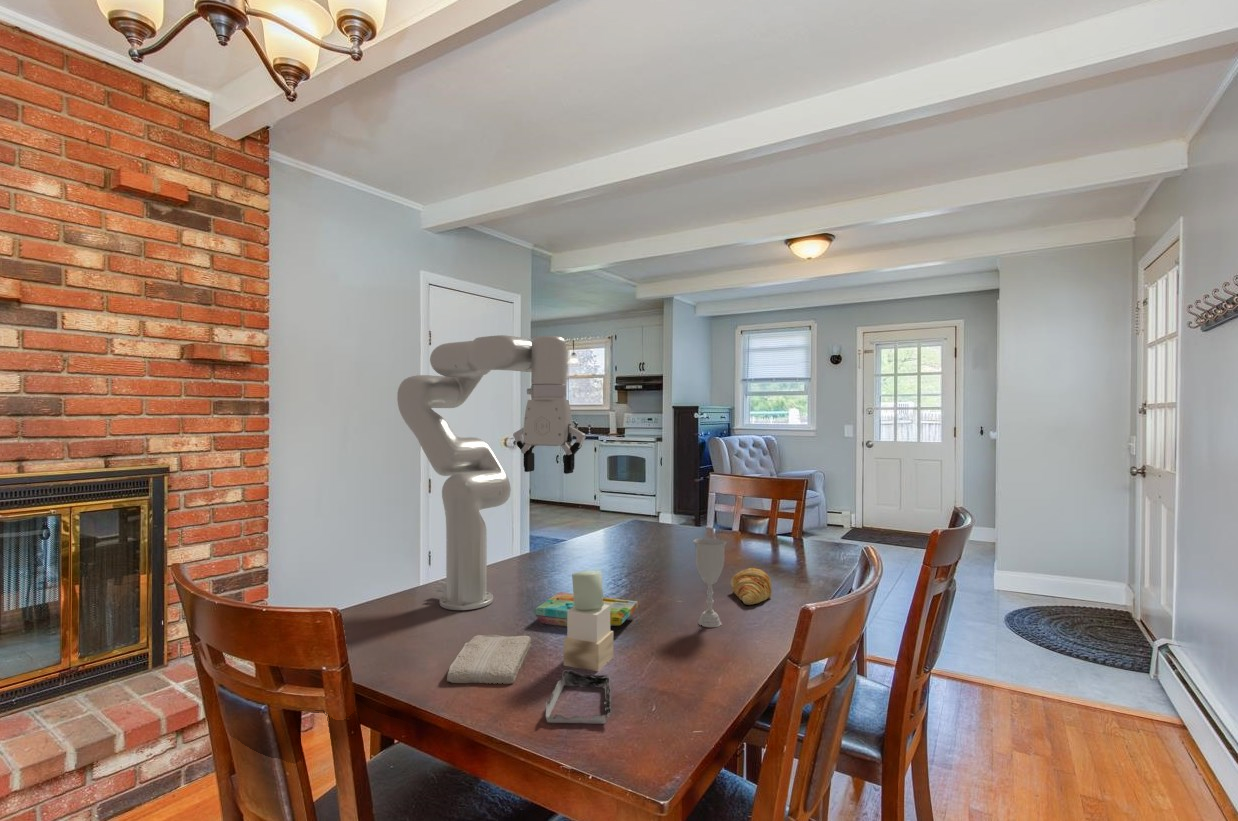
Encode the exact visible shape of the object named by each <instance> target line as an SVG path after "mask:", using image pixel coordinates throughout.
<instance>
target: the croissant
mask: <svg viewBox="0 0 1238 821" xmlns="http://www.w3.org/2000/svg"><path fill="white" fill-rule="evenodd" d="M730 588H731V589H732V590H733V593H734V594H735V595H736V596H737V597H738V599H739V600H740V601H742V603H743V605H748V606H751V605H755V604H760V603H762V602H764V601H766V600H767V599H768V598H769V599H770V598H771V597H772V590H773V589H772V588H773V587H772V580H771V578H770V576H769V574H767V573H766V572H765V571H764V570H762V569H761V568H759V567H748V568H746V569H742V570H740V571H738V572H737V573H735V574H734V575H733V577H732V578H731V579H730Z"/></svg>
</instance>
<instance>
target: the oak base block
mask: <svg viewBox="0 0 1238 821" xmlns="http://www.w3.org/2000/svg"><path fill="white" fill-rule="evenodd" d="M613 658H614V630H610V632H609V633H608V634H607V635H606V636H605V637H603V638H602V639H601V640H600V641H599V642H597V643H594V642H588V641H582V640H576V639H570V638H567V636H565V637H564V638H563V666H566V667H572V668H576V669H581V670H587V671H593V672H600V671H601V670H602V669H603V668H604V667H605V666H606V665H607V664H608V663H609V662H610V660H612V659H613ZM607 662H608V663H607Z"/></svg>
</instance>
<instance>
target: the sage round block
mask: <svg viewBox="0 0 1238 821" xmlns="http://www.w3.org/2000/svg"><path fill="white" fill-rule="evenodd" d="M571 579H572V591H573V593H572V594H574V608H575V609H579V610H589V609H596V608H599V607H602V606H603V605H604V600H603V597H604V590H603V589H604V588H603V578H602V571H601V570H582V571H578V572H574V573H572V574H571Z"/></svg>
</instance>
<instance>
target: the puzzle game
mask: <svg viewBox="0 0 1238 821" xmlns="http://www.w3.org/2000/svg"><path fill="white" fill-rule="evenodd" d="M603 600H604V604H605V605H610V628H611V627H612V626H621V625H622V624H623V623H625V621H626V620H627V619H628V618H630V616H631V615H632V613H634V612H635V610H637V609H638V607H639V601H635V600H627V599H619V598H611V597H604V596H603ZM572 607H574V594H573V593H570V592H562V591H560V592H557V593H556V594H554V595H553V596H551V597H550V598H548V599H547V600H545V601H544V602H543V603H542V604H540V605H538V606H537V607H536V608H534V615H535V617H537V619H538V620H539V621H540V622H541V624H544V623H545V624H544V625H553V626H560V627H567V611H568V610H569V609H571V608H572Z"/></svg>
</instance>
